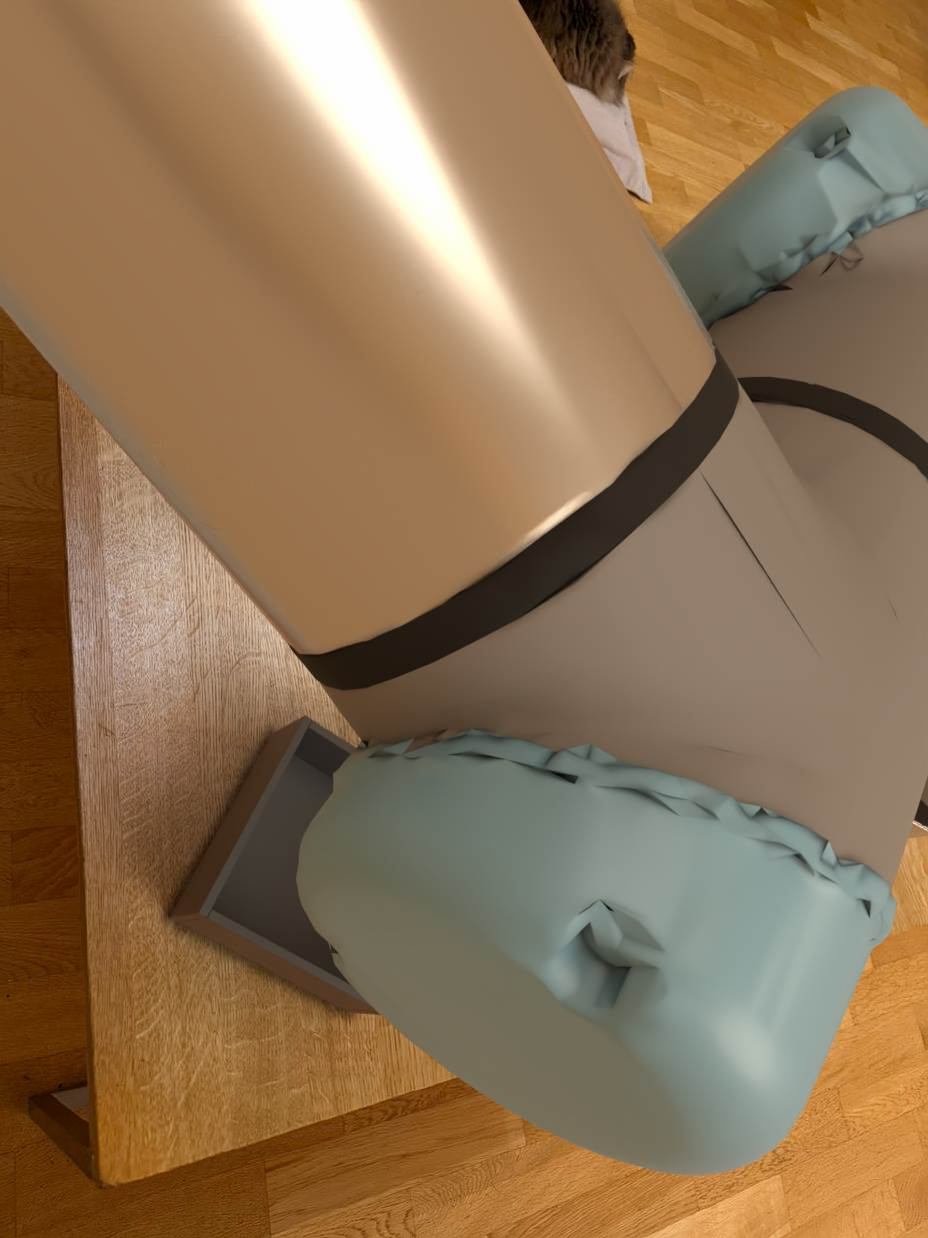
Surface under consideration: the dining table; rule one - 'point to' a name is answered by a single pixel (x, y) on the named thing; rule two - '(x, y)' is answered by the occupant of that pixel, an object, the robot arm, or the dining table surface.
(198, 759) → the dining table surface
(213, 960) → the dining table surface
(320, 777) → the grey bin
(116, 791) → the dining table surface
